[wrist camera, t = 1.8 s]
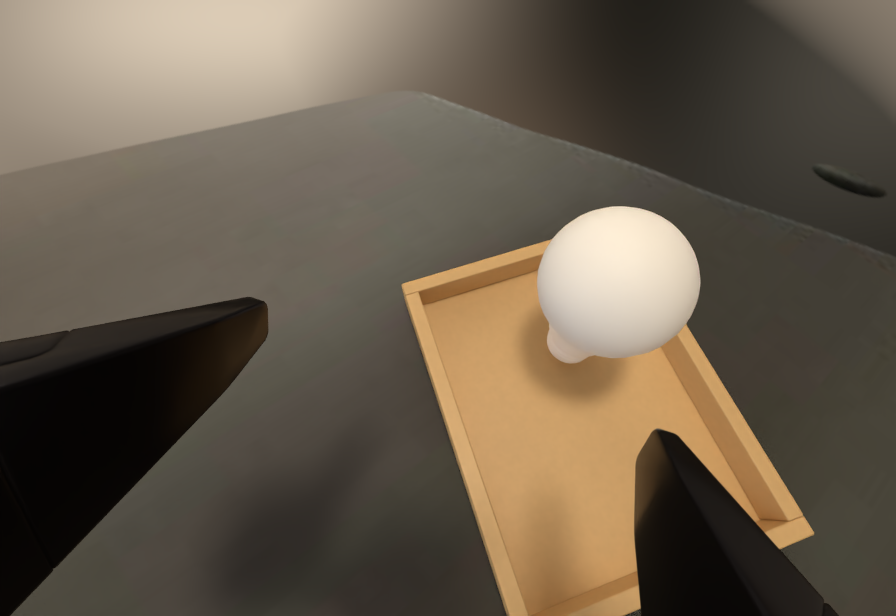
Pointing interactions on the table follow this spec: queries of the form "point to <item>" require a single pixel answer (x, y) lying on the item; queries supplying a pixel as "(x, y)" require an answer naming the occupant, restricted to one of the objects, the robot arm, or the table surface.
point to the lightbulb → (616, 284)
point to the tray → (571, 437)
